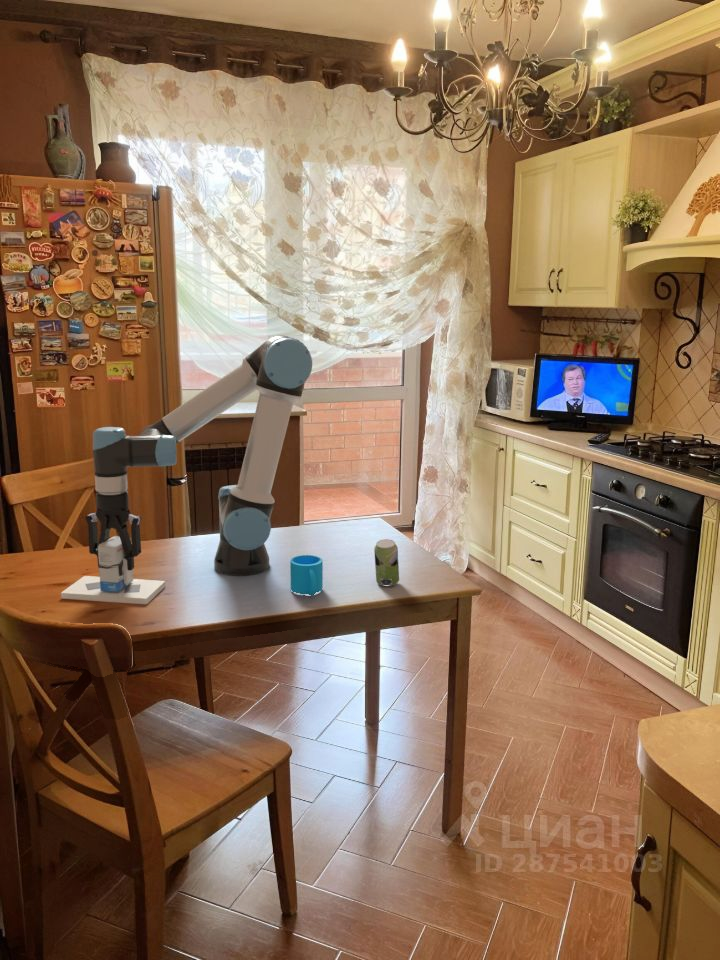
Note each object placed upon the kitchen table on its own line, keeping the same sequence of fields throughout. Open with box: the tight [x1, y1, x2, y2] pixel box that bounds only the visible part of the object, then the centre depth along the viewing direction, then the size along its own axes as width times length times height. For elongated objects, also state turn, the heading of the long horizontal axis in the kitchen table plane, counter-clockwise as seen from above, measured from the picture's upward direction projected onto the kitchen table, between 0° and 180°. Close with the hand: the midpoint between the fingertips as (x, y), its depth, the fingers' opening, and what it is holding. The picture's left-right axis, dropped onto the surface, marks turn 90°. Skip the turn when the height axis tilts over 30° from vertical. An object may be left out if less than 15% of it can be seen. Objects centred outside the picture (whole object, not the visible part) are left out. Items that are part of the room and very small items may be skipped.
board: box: [60, 575, 167, 605], centre depth 191 cm, size 22×12×2 cm, turn 82°
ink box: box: [98, 535, 134, 592], centre depth 189 cm, size 8×5×12 cm, turn 169°
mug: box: [289, 554, 324, 596], centre depth 192 cm, size 12×8×8 cm
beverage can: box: [373, 539, 400, 586], centre depth 197 cm, size 6×7×12 cm
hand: (117, 581), depth 190 cm, fingers closed on ink box, 5 cm apart
